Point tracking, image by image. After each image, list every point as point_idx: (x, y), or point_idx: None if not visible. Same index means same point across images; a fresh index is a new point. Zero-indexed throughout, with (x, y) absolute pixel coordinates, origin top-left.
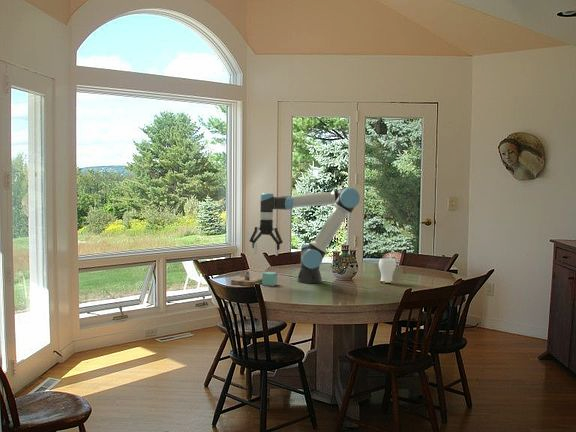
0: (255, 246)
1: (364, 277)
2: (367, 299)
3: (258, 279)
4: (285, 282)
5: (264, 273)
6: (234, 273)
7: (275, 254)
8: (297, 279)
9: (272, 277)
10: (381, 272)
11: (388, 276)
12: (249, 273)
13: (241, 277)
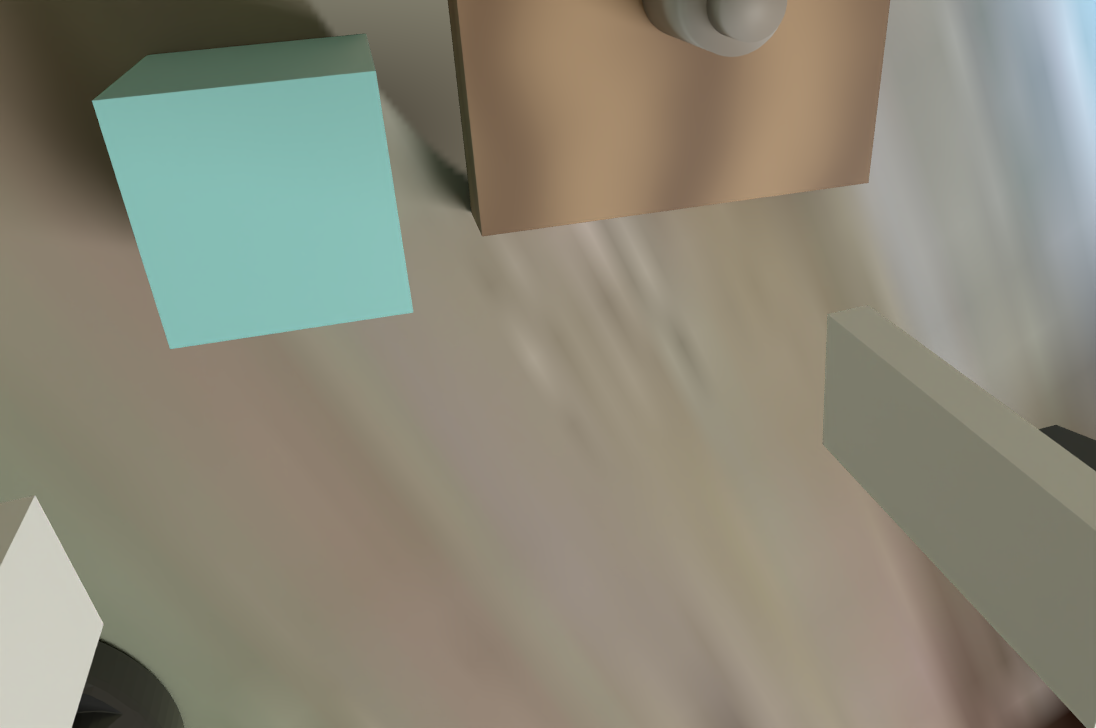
0: (1003, 517)
1: None
2: None
3: (508, 135)
4: (211, 487)
5: (327, 76)
6: None
7: (11, 521)
8: (136, 681)
9: (121, 85)
10: None
11: None
12: (686, 22)
13: (845, 129)
